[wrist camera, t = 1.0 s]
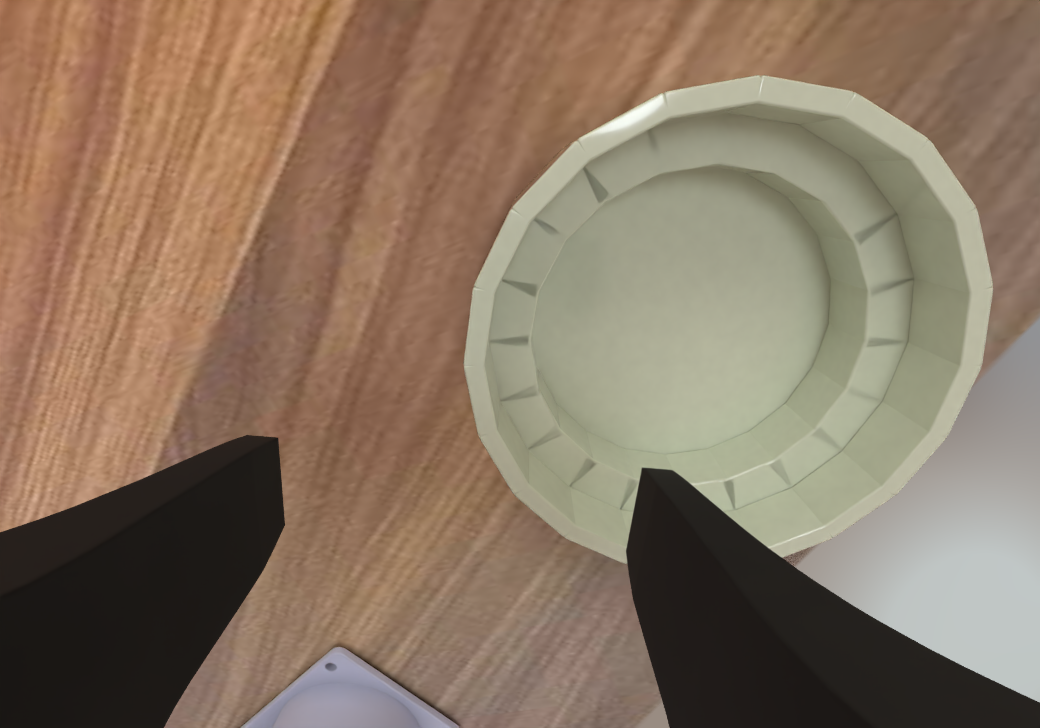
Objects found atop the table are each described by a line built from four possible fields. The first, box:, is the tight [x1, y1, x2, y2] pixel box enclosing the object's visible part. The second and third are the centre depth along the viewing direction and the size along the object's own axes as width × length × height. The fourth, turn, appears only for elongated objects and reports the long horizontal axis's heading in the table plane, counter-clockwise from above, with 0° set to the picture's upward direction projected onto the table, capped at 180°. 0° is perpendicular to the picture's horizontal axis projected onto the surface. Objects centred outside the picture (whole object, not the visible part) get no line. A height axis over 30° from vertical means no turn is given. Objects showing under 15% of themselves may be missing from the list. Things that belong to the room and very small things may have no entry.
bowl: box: [463, 75, 993, 564], centre depth 17 cm, size 14×14×5 cm
